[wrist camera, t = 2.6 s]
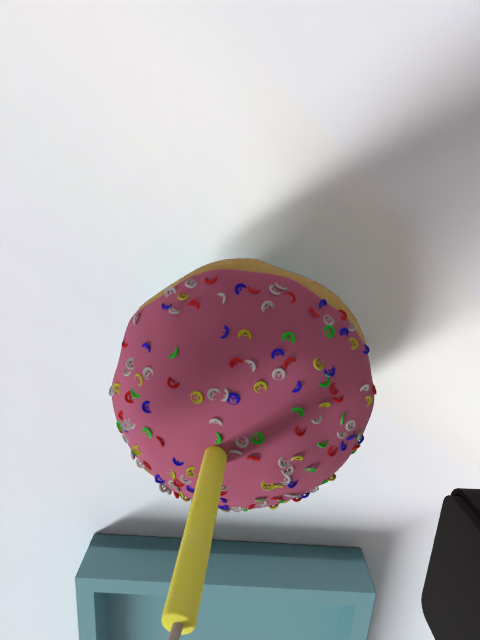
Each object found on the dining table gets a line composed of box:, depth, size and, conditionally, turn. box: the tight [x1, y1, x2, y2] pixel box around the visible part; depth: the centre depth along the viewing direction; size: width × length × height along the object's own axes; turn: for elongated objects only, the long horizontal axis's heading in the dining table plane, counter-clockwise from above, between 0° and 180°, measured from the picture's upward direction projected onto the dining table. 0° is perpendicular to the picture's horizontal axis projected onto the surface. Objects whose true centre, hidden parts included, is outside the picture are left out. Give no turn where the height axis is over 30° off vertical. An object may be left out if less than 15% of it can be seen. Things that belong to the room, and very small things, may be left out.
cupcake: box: [109, 258, 376, 640], centre depth 12 cm, size 9×8×12 cm
